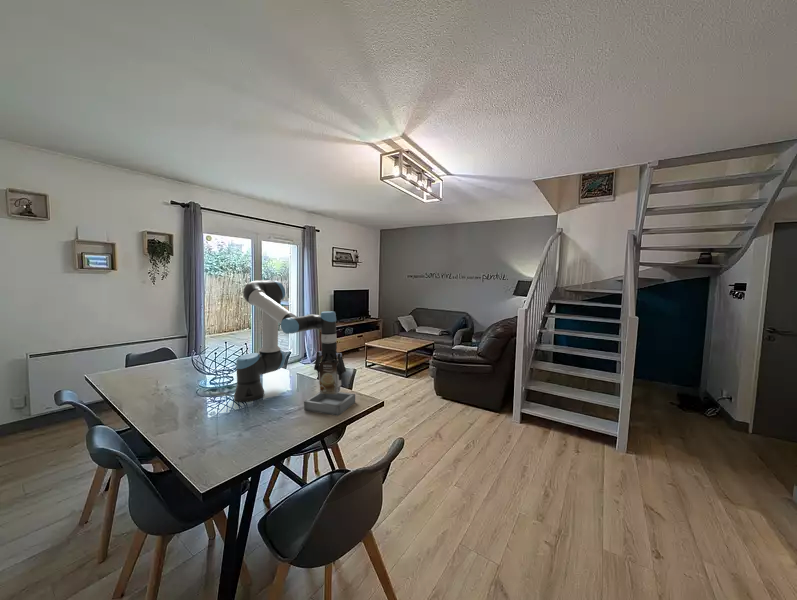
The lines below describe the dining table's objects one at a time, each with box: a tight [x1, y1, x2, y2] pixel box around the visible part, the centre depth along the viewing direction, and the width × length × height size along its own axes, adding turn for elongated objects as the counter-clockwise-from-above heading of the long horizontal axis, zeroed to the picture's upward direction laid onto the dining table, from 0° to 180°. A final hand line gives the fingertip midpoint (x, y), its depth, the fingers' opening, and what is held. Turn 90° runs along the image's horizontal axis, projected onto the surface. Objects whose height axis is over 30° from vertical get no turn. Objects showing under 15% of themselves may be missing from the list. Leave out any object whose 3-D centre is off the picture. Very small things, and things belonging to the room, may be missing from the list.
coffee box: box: [319, 359, 341, 394], centre depth 155 cm, size 9×6×16 cm
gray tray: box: [303, 391, 356, 417], centre depth 156 cm, size 20×17×4 cm
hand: (330, 384), depth 156 cm, fingers closed on coffee box, 10 cm apart
